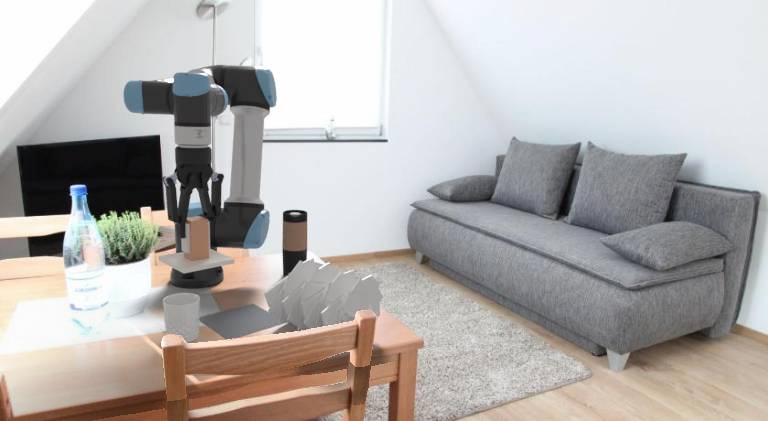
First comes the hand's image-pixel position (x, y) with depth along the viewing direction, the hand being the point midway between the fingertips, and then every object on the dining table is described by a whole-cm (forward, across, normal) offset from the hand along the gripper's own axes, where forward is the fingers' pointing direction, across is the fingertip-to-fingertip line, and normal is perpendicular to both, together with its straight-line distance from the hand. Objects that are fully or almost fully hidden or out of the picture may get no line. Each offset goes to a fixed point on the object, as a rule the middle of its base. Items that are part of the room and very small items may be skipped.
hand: (196, 249), depth 126 cm
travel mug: (+21, +44, +22) cm, 54 cm away
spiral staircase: (+21, +23, -18) cm, 36 cm away
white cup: (+21, -4, 0) cm, 22 cm away
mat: (+21, +12, 0) cm, 24 cm away
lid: (+3, 0, 0) cm, 3 cm away
